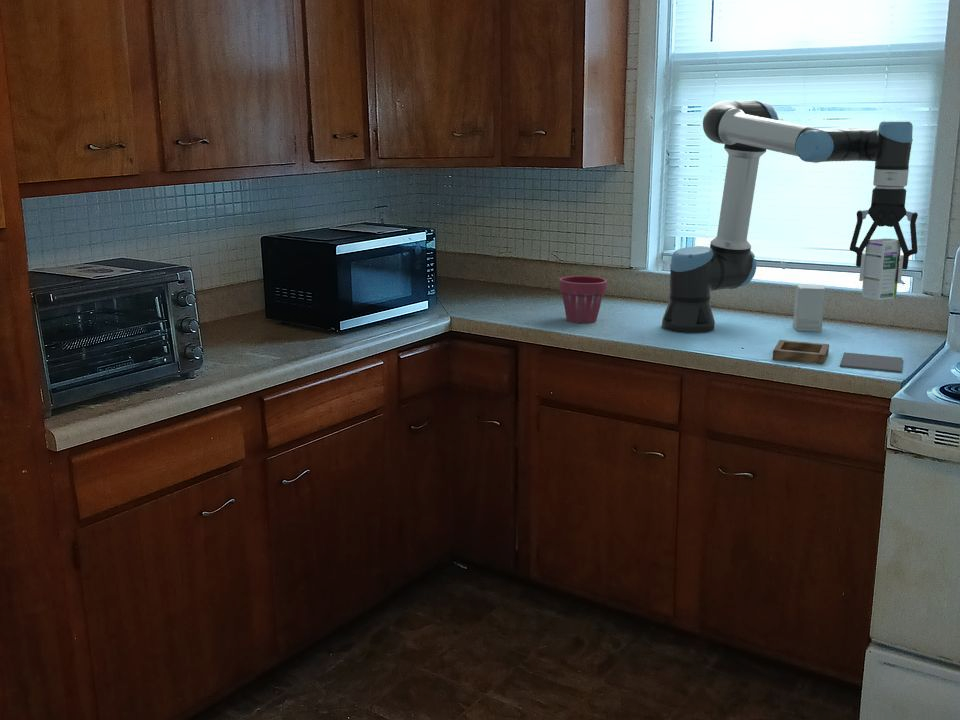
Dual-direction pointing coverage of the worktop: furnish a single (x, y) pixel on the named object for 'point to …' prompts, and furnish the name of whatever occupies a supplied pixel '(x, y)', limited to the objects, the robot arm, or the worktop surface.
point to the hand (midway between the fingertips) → (879, 281)
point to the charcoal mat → (871, 362)
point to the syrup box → (881, 269)
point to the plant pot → (582, 297)
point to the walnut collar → (801, 352)
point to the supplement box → (808, 307)
